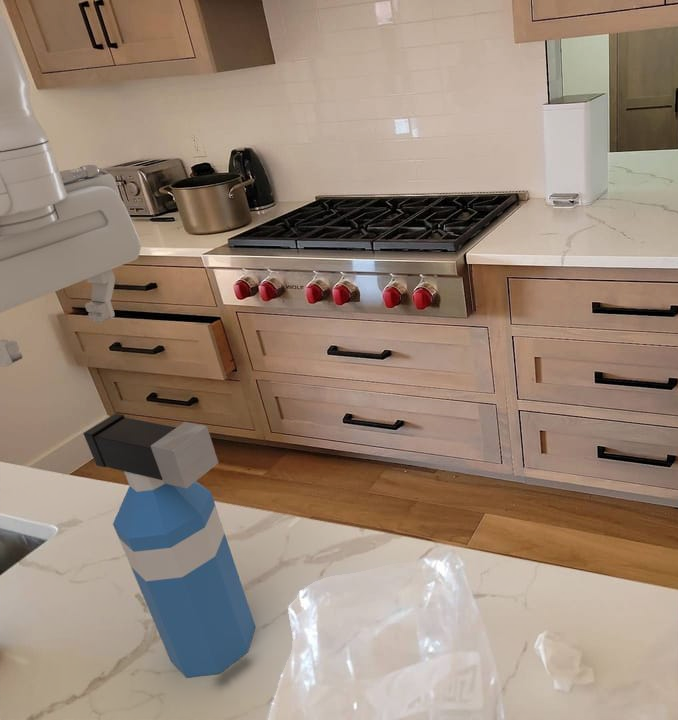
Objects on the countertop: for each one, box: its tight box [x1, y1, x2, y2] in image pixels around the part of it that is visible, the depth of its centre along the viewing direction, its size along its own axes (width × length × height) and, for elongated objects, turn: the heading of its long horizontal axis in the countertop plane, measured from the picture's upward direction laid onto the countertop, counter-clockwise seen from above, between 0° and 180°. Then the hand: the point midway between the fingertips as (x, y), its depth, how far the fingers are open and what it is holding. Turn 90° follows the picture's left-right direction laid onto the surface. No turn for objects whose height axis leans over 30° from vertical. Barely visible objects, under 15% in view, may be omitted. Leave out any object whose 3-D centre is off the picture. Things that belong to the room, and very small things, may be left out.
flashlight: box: [83, 413, 219, 488], centre depth 65 cm, size 12×4×4 cm, turn 67°
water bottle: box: [112, 471, 256, 679], centre depth 72 cm, size 9×9×25 cm
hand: (59, 339), depth 61 cm, fingers open, 8 cm apart
